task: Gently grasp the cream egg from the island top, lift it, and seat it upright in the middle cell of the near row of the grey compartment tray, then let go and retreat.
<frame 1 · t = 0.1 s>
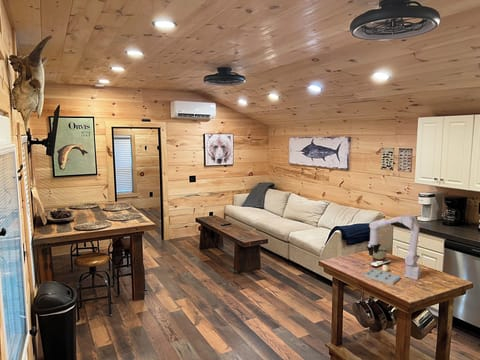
hand: (373, 254, 270), 10 cm above the table, tool pointing down, fingers open, 7 cm apart
grey compartment tray: (381, 277, 251), on the table
food container: (377, 260, 285), on the table
egg: (384, 271, 262), on the table
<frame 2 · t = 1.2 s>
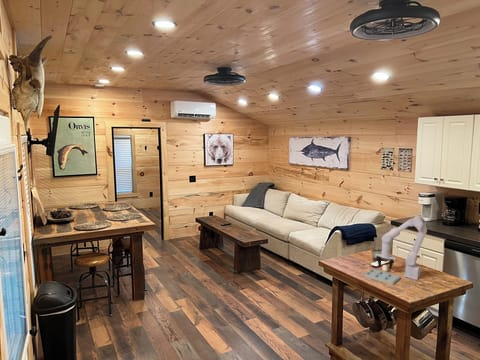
hand: (384, 267, 262), 3 cm above the table, tool pointing down, fingers open, 7 cm apart
nothing on the table moved.
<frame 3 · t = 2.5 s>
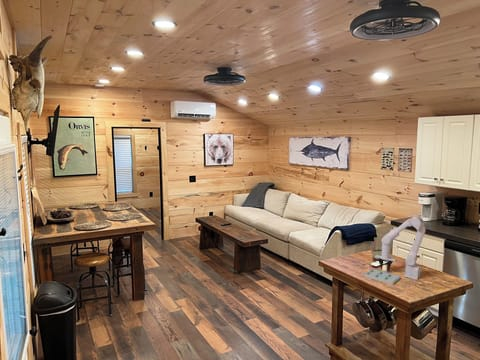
hand: (385, 269, 262), 1 cm above the table, tool pointing down, fingers closed on egg, 4 cm apart
egg: (384, 271, 262), on the table, touching gripper
everything else where it was.
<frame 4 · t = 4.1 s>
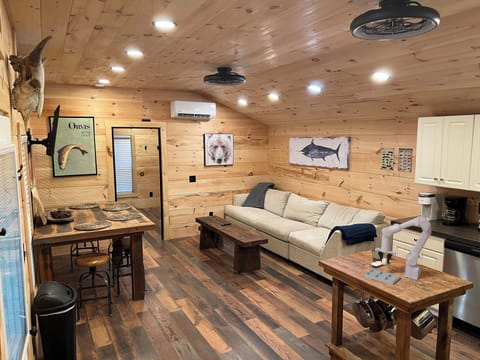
hand: (384, 262, 257), 8 cm above the table, tool pointing down, fingers closed on egg, 4 cm apart
egg: (384, 264, 257), point 7 cm above the table, touching gripper
everything else where it was.
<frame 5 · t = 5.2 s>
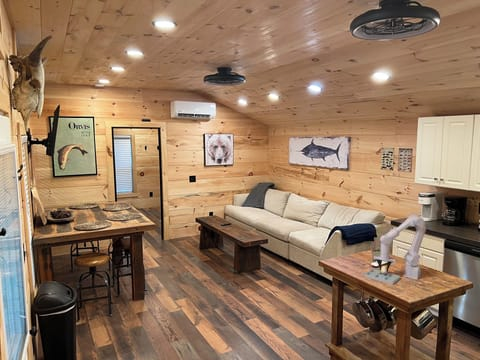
hand: (384, 270, 253), 4 cm above the table, tool pointing down, fingers closed on egg, 4 cm apart
egg: (383, 272, 253), point 3 cm above the table, touching gripper
everything else where it was.
when the fingers open (3 cm above the table, at t = 6.2 s): egg drops 1 cm, resting on grey compartment tray.
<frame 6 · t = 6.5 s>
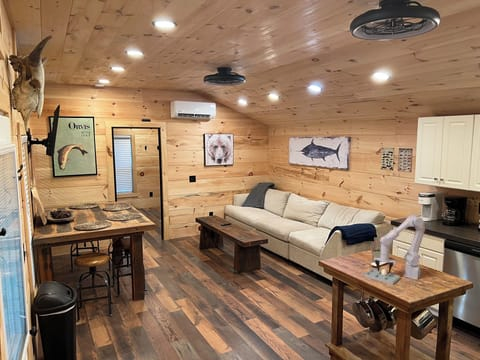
hand: (383, 271, 253), 3 cm above the table, tool pointing down, fingers open, 7 cm apart
egg: (384, 275, 253), point 1 cm above the table, touching grey compartment tray
everything else where it was.
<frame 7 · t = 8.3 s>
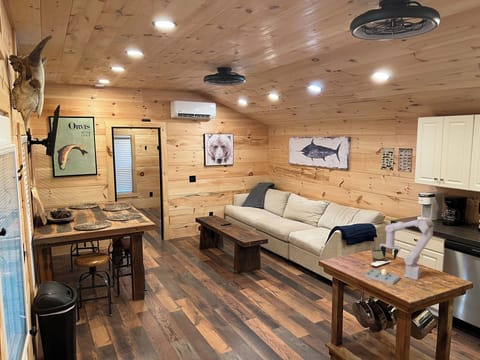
hand: (389, 257, 264), 9 cm above the table, tool pointing down, fingers open, 7 cm apart
nothing on the table moved.
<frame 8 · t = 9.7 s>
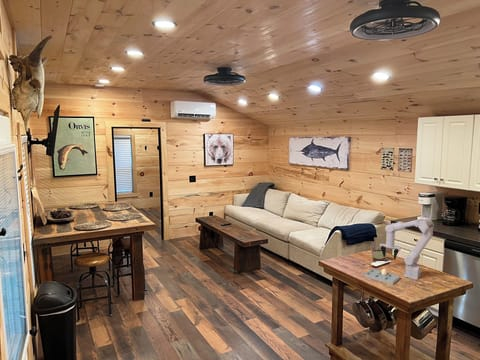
hand: (389, 257, 264), 9 cm above the table, tool pointing down, fingers open, 7 cm apart
nothing on the table moved.
at the end: egg 0.1 cm from the target spot on the grey compartment tray, point 0.5 cm above the grey compartment tray's base; egg tilted 1°; the gripper is holding nothing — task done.
